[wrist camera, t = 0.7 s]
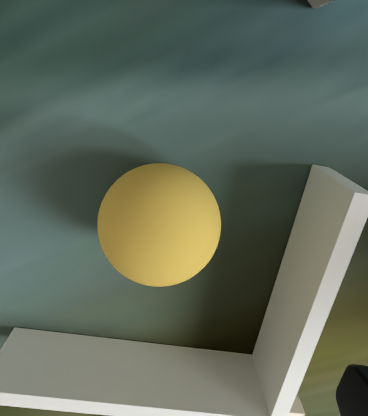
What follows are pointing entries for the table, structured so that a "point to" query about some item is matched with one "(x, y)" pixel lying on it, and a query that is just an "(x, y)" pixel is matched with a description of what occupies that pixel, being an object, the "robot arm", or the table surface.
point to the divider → (203, 358)
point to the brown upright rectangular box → (318, 3)
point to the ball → (159, 224)
